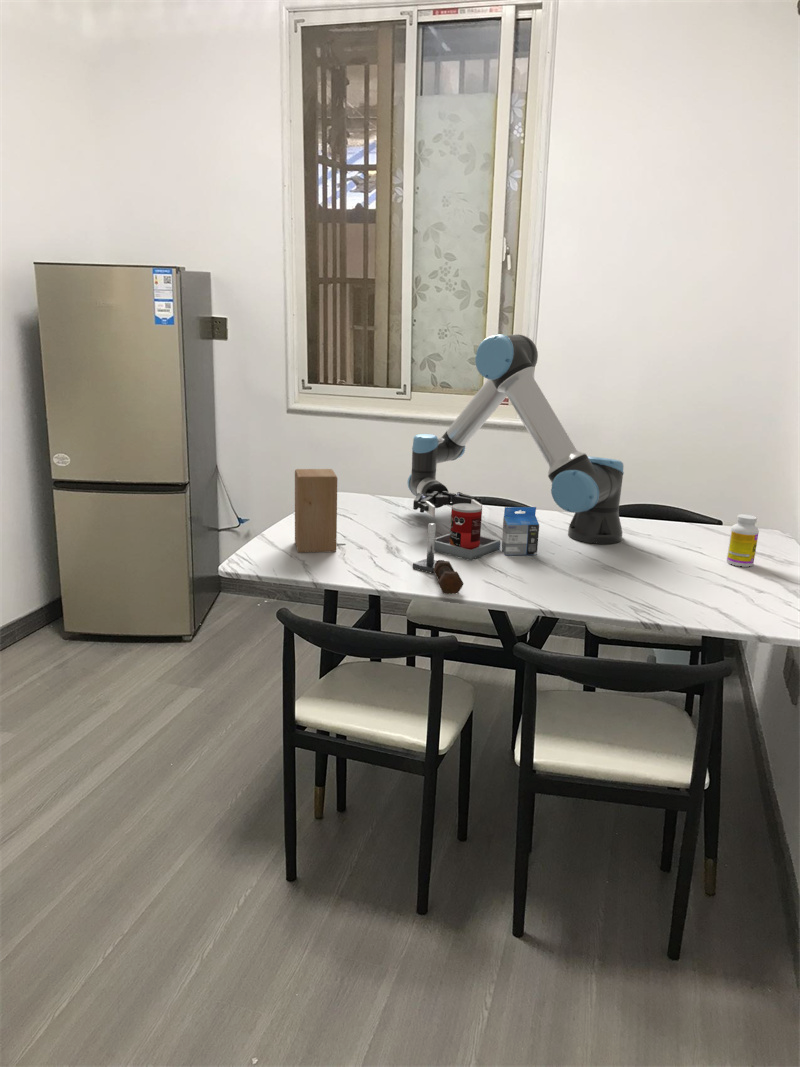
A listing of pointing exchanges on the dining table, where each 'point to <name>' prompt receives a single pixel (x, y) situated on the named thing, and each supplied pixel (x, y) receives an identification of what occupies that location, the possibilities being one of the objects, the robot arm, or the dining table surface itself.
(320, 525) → the wooden block
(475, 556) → the tray
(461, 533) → the canned food
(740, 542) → the supplement bottle
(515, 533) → the label tape box
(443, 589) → the brown hex dumbbell
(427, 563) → the stand
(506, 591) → the dining table surface
